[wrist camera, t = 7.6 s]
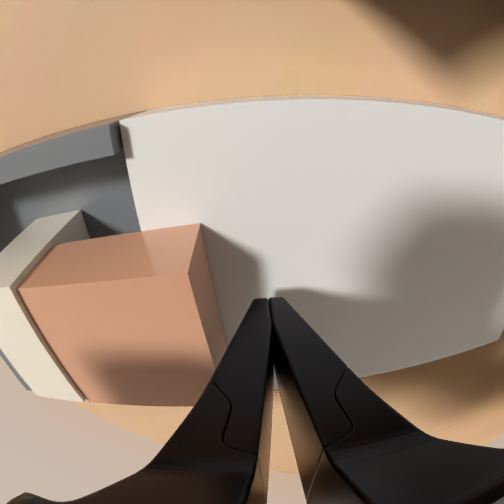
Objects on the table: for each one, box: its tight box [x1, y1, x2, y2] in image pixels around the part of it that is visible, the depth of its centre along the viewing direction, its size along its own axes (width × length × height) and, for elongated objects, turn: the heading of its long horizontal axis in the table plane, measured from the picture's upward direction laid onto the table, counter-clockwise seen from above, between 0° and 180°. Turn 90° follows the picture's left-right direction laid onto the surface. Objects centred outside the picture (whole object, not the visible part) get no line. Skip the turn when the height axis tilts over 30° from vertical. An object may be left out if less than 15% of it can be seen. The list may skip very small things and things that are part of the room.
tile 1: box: [0, 210, 90, 402], centre depth 10 cm, size 5×5×2 cm
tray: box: [0, 111, 145, 399], centre depth 11 cm, size 9×11×4 cm
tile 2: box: [16, 223, 228, 406], centre depth 9 cm, size 5×5×2 cm
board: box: [119, 95, 504, 390], centre depth 11 cm, size 16×11×3 cm
